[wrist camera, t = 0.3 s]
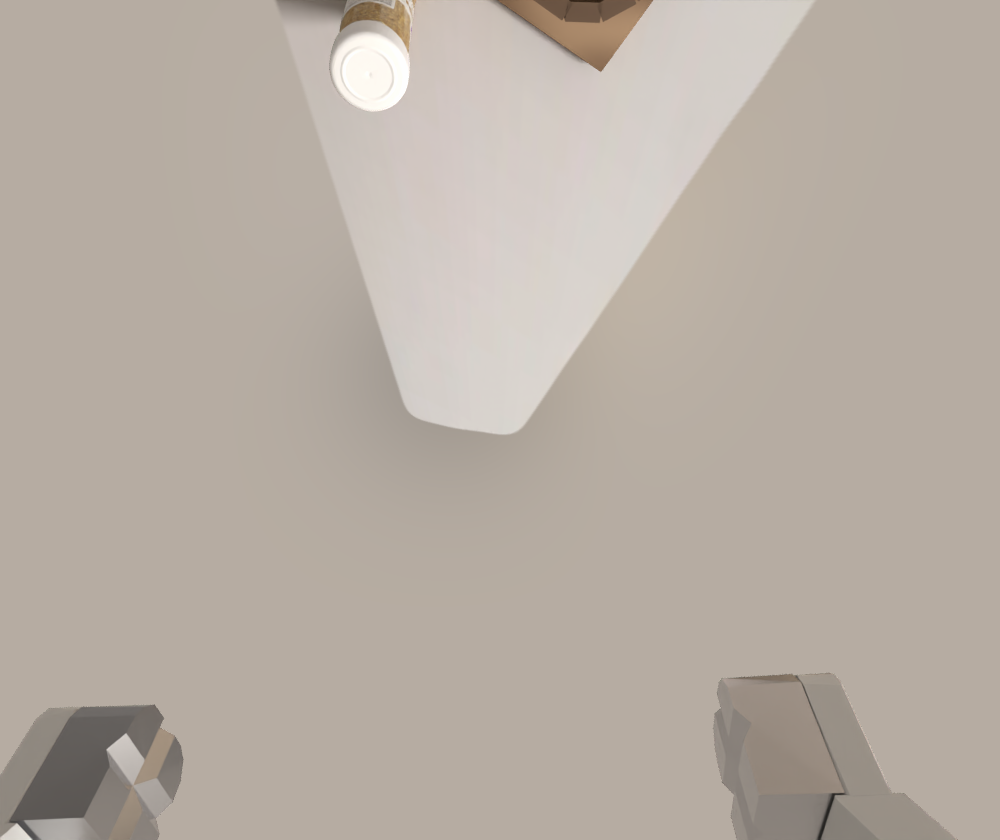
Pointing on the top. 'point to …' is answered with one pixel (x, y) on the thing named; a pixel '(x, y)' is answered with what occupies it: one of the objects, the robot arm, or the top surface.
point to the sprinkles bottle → (373, 53)
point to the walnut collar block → (583, 24)
